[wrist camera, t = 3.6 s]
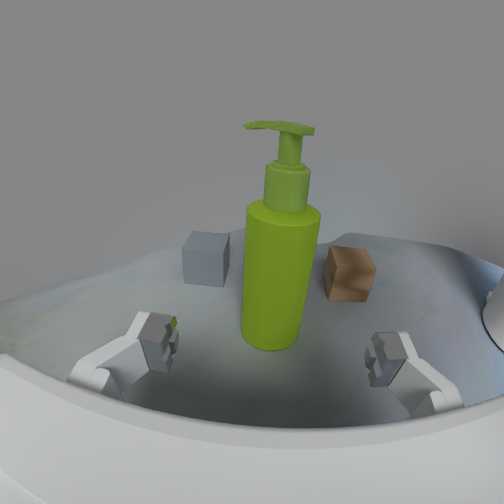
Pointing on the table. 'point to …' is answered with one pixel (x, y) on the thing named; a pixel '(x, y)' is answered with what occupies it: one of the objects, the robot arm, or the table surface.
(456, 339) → the table surface
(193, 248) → the slate-grey block
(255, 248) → the soap dispenser
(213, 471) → the robot arm
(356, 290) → the walnut block
